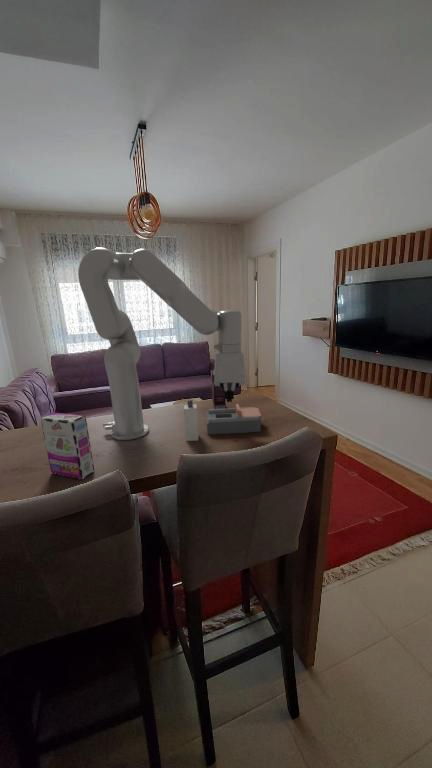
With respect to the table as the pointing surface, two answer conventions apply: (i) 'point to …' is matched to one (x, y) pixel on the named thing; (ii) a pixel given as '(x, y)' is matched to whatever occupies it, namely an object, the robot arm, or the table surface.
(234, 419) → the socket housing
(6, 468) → the table surface
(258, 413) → the shutter
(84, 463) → the candy bar box
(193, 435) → the plug
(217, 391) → the supplement box
